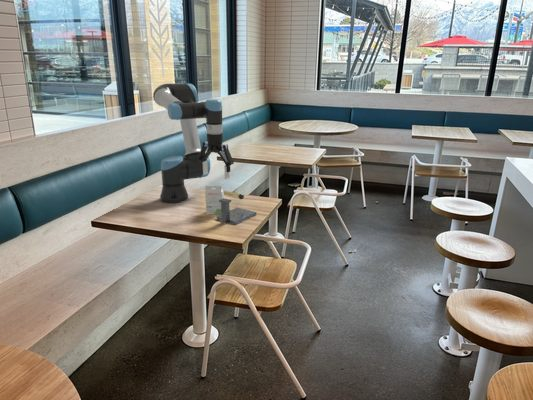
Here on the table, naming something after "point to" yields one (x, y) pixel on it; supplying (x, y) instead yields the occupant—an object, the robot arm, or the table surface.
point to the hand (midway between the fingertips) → (216, 176)
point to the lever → (234, 194)
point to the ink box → (213, 199)
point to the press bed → (233, 213)
